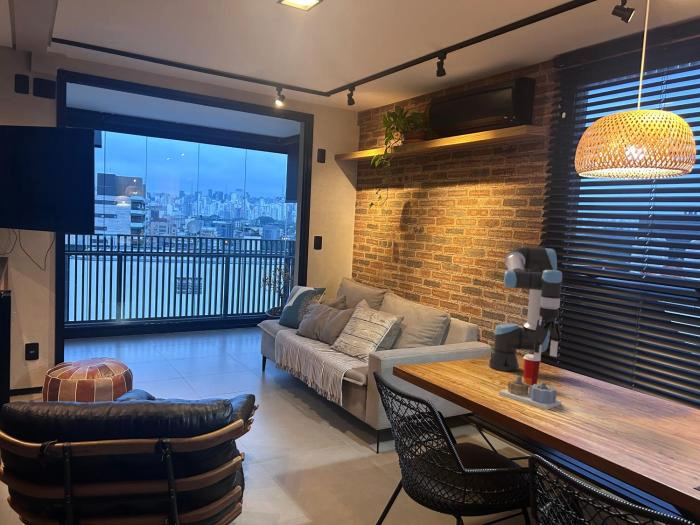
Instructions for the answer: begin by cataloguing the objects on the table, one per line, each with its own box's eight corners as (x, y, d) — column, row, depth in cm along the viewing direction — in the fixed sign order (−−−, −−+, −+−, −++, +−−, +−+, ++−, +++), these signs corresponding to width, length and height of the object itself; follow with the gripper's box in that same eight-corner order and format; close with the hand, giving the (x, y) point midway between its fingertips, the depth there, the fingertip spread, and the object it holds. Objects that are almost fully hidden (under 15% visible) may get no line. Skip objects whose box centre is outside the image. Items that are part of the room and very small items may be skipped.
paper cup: (536, 383, 242) (538, 354, 241) (540, 388, 234) (543, 358, 233) (519, 382, 243) (521, 353, 242) (523, 387, 235) (525, 357, 234)
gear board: (513, 390, 229) (515, 371, 229) (561, 404, 213) (562, 384, 212) (498, 394, 221) (500, 375, 221) (546, 409, 205) (548, 388, 204)
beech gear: (514, 388, 227) (515, 379, 226) (531, 393, 221) (532, 384, 220) (504, 391, 221) (505, 382, 221) (521, 396, 215) (522, 387, 215)
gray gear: (559, 401, 212) (560, 389, 212) (547, 405, 206) (548, 393, 205) (536, 394, 220) (537, 382, 220) (524, 398, 213) (525, 386, 213)
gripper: (555, 304, 222) (551, 352, 223) (525, 307, 205) (521, 359, 207) (572, 307, 216) (568, 356, 218) (542, 311, 200) (538, 364, 201)
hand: (545, 358), depth 212 cm, fingers open, 13 cm apart
